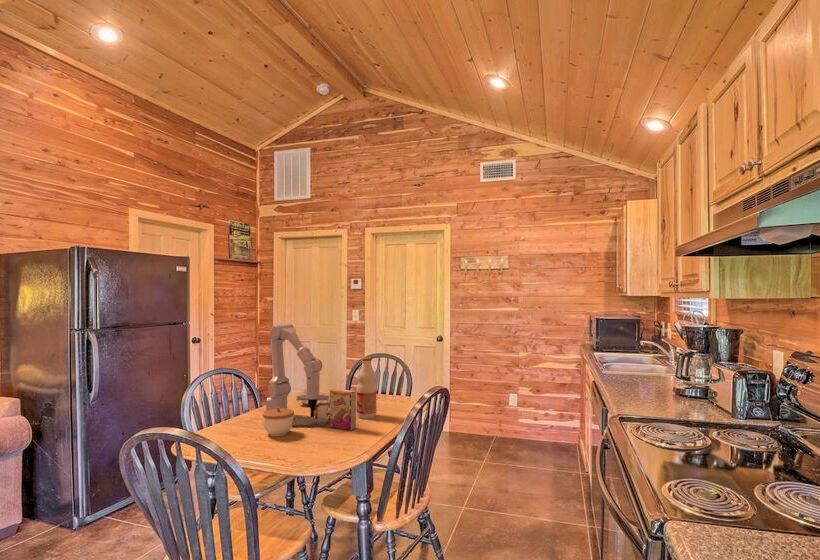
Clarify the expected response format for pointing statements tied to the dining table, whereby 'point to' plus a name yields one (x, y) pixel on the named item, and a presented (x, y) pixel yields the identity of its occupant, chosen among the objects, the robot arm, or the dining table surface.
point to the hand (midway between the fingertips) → (312, 416)
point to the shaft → (317, 412)
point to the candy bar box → (343, 409)
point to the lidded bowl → (278, 421)
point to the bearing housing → (313, 419)
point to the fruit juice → (366, 390)
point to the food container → (319, 402)
